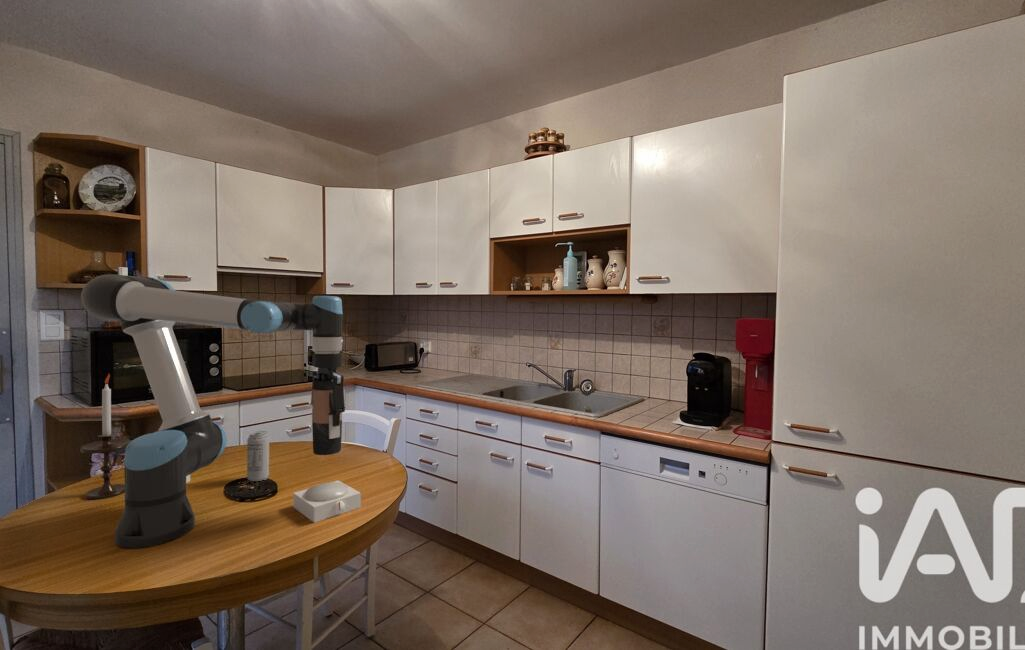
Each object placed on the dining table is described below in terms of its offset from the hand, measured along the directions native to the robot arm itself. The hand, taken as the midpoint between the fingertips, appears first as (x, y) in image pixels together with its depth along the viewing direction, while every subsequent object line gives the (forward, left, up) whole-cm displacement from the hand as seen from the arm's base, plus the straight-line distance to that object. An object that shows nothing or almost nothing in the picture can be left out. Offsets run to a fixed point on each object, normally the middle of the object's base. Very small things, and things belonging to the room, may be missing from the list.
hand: (327, 434), depth 123 cm
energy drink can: (-6, +35, -21) cm, 41 cm away
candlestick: (-40, +54, -21) cm, 70 cm away
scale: (0, 0, -20) cm, 20 cm away
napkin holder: (-25, +53, -21) cm, 62 cm away
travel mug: (0, 0, -5) cm, 5 cm away
